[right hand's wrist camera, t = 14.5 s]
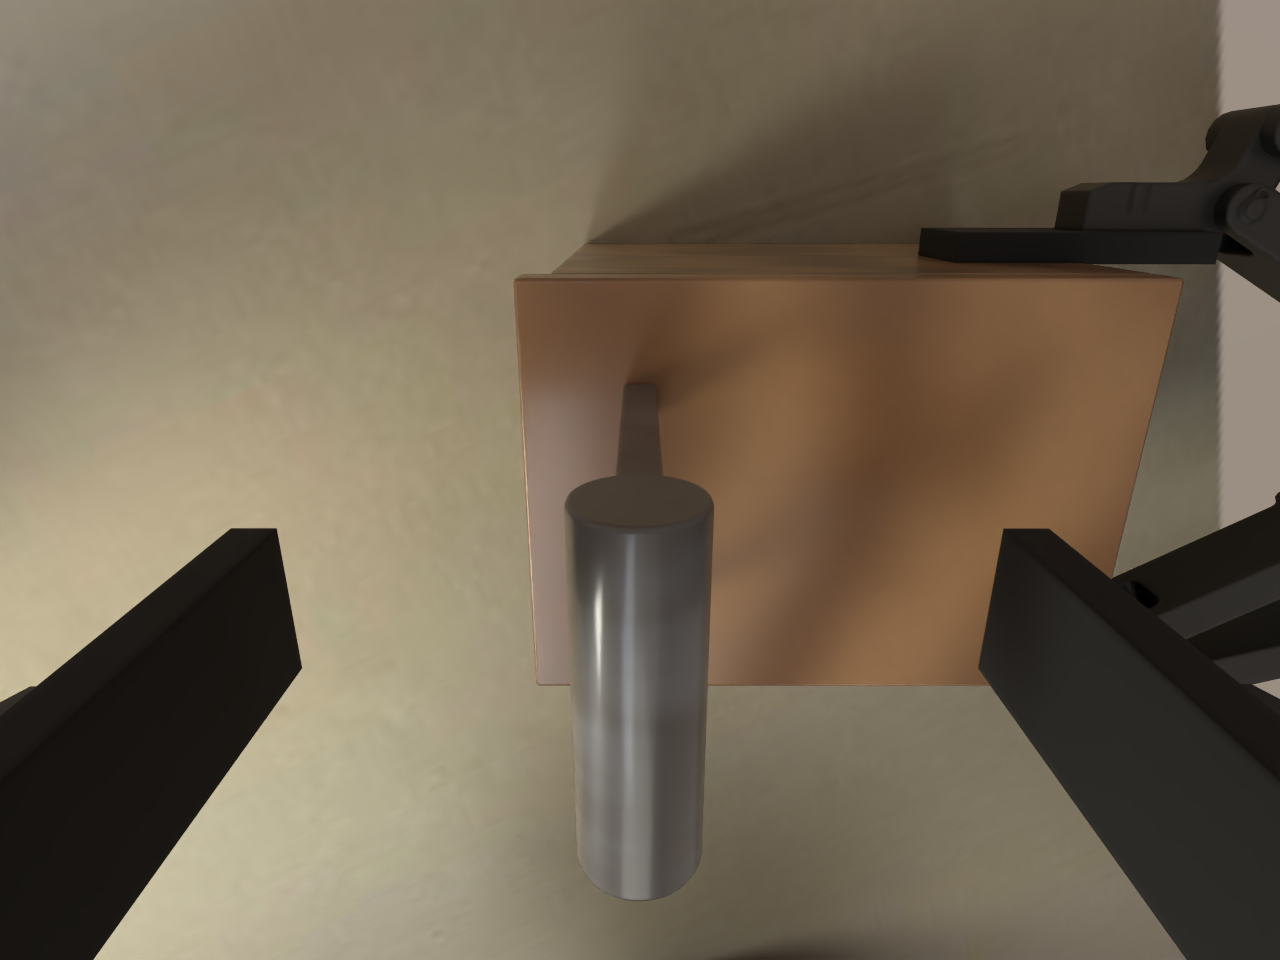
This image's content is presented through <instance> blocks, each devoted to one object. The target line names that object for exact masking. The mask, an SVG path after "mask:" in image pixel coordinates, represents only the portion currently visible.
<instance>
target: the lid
mask: <svg viewBox="0 0 1280 960" xmlns="http://www.w3.org/2000/svg"><path fill="white" fill-rule="evenodd" d="M1182 287H1183V280H1182V279H1180V278H1176V277H1169V276H1163V275H1156V274H523V275H520V276H519V277H517V278H516V279H515V280H514V297H515V315H516V333H517V350H518V368H519V386H520V404H521V421H522V439H523V457H524V475H525V492H526V510H527V528H528V546H529V563H530V581H531V599H532V617H533V634H534V652H535V670H536V683H537V685H571V708H572V735H573V761H574V788H575V814H576V841H577V856H578V861H579V864H580V866H581V868H582V870H583V872H584V873H585V875H586V876H587V878H588V879H589V880H590V881H591V882H592V883H593V884H594V885H595V886H596V887H597V888H599V889H600V890H602V891H603V892H605V893H607V894H609V895H611V896H614V897H617V898H620V899H624V900H630V901H648V900H654V899H658V898H662V897H665V896H667V895H669V894H672V893H673V892H675V891H677V890H678V889H680V888H681V887H682V886H684V885H685V884H686V883H687V882H688V881H689V880H690V878H691V877H692V875H693V874H694V873H695V871H696V869H697V867H698V865H699V862H700V859H701V853H702V827H703V800H704V773H705V746H706V719H707V692H708V685H864V686H990V684H989V683H988V681H987V680H986V679H985V677H984V676H983V675H982V673H981V672H980V670H979V669H978V665H979V659H980V654H981V648H982V643H983V637H984V632H985V626H986V621H987V615H988V610H989V605H990V599H991V594H992V588H993V583H994V577H995V572H996V566H997V561H998V555H999V550H1000V544H1001V539H1002V533H1003V528H1049V529H1050V530H1051V531H1053V532H1054V533H1055V534H1056V535H1058V536H1059V537H1060V538H1061V539H1063V540H1064V541H1065V542H1066V543H1067V544H1069V545H1070V546H1071V547H1072V548H1074V549H1075V550H1076V551H1077V552H1079V553H1080V554H1081V555H1082V556H1083V557H1085V558H1086V559H1087V560H1088V561H1090V562H1091V563H1092V564H1093V565H1095V566H1096V567H1097V568H1098V569H1099V570H1101V571H1102V572H1103V573H1104V574H1106V575H1107V576H1108V577H1109V578H1111V579H1112V575H1113V571H1114V567H1115V563H1116V559H1117V555H1118V551H1119V546H1120V542H1121V538H1122V534H1123V530H1124V526H1125V522H1126V518H1127V513H1128V509H1129V505H1130V501H1131V497H1132V493H1133V489H1134V485H1135V481H1136V476H1137V472H1138V468H1139V464H1140V460H1141V456H1142V452H1143V448H1144V443H1145V439H1146V435H1147V431H1148V427H1149V423H1150V419H1151V415H1152V410H1153V406H1154V402H1155V398H1156V394H1157V390H1158V386H1159V382H1160V378H1161V373H1162V369H1163V365H1164V361H1165V357H1166V353H1167V349H1168V345H1169V340H1170V336H1171V332H1172V328H1173V324H1174V320H1175V316H1176V312H1177V307H1178V303H1179V299H1180V295H1181V291H1182Z"/></svg>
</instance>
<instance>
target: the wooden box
mask: <svg viewBox="0 0 1280 960" xmlns="http://www.w3.org/2000/svg"><path fill="white" fill-rule="evenodd" d="M918 251H919V244H584V245H583V246H582V247H581V248H580V249H579V250H578V251H577V252H575V253H574V254H573V255H572V256H571V257H570V258H568V259H567V260H566V261H565V262H564V263H563V264H562V265H560V266H559V267H558V268H557V269H556V270H555V271H553V272H552V273H551V274H1149V273H1144V272H1137V271H1131V270H1124V269H1117V268H1111V267H1104V266H1098V265H1091V264H1084V263H953V262H948V261H943V260H939V259H934V258H929V257H925V256H920V255H918Z"/></svg>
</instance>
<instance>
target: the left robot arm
mask: <svg viewBox="0 0 1280 960" xmlns="http://www.w3.org/2000/svg"><path fill="white" fill-rule="evenodd" d="M1206 149H1207V151H1208V153H1207V154H1206V156H1205V158H1204V160H1203V161H1202V163H1201V164H1200V166H1199V167H1198V168H1197V170H1196V171H1195V172H1194V173H1192V174H1191V175H1190V176H1189V177H1187V178H1186V179H1184V180H1182V181H1179V182H1176V183H1145V182H1137V183H1134V182H1110V183H1081V184H1079V185H1076V186H1073V187H1071V188H1068V189H1066V190H1063V191H1061V195H1060V201H1059V206H1058V212H1057V217H1056V223H1055V228H921V235H920V243H919V251H918V255H920V256H925V257H929V258H934V259H939V260H943V261H948V262H953V263H1084V264H1215V263H1216V259H1218V260H1219V261H1220V262H1222V263H1223V264H1225V265H1226V266H1228V267H1229V268H1231V269H1232V270H1234V271H1235V272H1236V273H1238V274H1239V275H1241V276H1242V277H1244V278H1245V279H1247V280H1248V281H1250V282H1251V283H1252V284H1254V285H1255V286H1257V287H1258V288H1260V289H1261V290H1263V291H1264V292H1265V293H1267V294H1268V295H1270V296H1271V297H1273V298H1274V299H1276V300H1277V301H1279V302H1280V193H1279V192H1278V191H1277V190H1275V189H1276V187H1277V185H1278V184H1279V182H1280V104H1279V105H1272V106H1265V107H1258V108H1251V109H1244V110H1237V111H1231V112H1228V113H1225V114H1222V115H1221V116H1220V117H1219V118H1217V119H1216V120H1215V121H1214V122H1213V123H1212V125H1211V126H1210V128H1209V129H1208V132H1207V135H1206ZM1275 499H1276V503H1275V505H1273V506H1272V507H1270V508H1267V509H1265V510H1263V511H1261V512H1258V513H1256V514H1254V515H1252V516H1249V517H1247V518H1245V519H1243V520H1241V521H1238V522H1236V523H1234V524H1232V525H1229V526H1227V527H1225V528H1223V529H1220V530H1218V531H1216V532H1214V533H1212V534H1209V535H1207V536H1205V537H1203V538H1200V539H1198V540H1196V541H1194V542H1192V543H1189V544H1187V545H1185V546H1183V547H1180V548H1178V549H1176V550H1174V551H1171V552H1169V553H1167V554H1165V555H1163V556H1160V557H1158V558H1156V559H1154V560H1151V561H1149V562H1147V563H1145V564H1143V565H1140V566H1138V567H1136V568H1134V569H1131V570H1129V571H1127V572H1125V573H1122V574H1120V575H1118V576H1116V577H1114V578H1112V580H1113V581H1114V582H1115V583H1117V584H1118V585H1119V586H1120V587H1122V588H1123V589H1124V590H1125V591H1127V592H1128V593H1129V594H1130V595H1131V596H1133V597H1134V598H1135V599H1136V600H1138V601H1139V602H1140V603H1141V604H1143V605H1144V606H1145V607H1146V608H1148V609H1149V610H1150V611H1151V612H1152V613H1154V614H1155V615H1156V616H1157V617H1159V618H1160V619H1161V620H1162V621H1164V622H1165V623H1166V624H1167V625H1168V626H1170V627H1171V628H1172V629H1173V630H1175V631H1176V632H1177V633H1178V634H1180V635H1181V636H1182V637H1183V638H1184V639H1186V640H1187V641H1188V642H1189V643H1191V644H1192V645H1193V646H1194V647H1196V648H1197V649H1198V650H1199V651H1200V652H1202V653H1203V654H1204V655H1205V656H1207V657H1208V658H1209V659H1210V660H1212V661H1213V662H1214V663H1215V664H1216V665H1218V666H1219V667H1220V668H1221V669H1223V670H1224V671H1225V672H1226V673H1228V674H1229V675H1230V676H1231V677H1232V678H1234V679H1235V680H1236V681H1237V682H1239V683H1240V684H1256V683H1261V682H1265V681H1270V680H1274V679H1279V678H1280V492H1279V493H1278V494H1277V495H1276V496H1275Z"/></svg>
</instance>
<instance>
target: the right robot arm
mask: <svg viewBox="0 0 1280 960" xmlns="http://www.w3.org/2000/svg"><path fill="white" fill-rule="evenodd" d="M301 669H302V665H301V660H300V654H299V649H298V643H297V638H296V632H295V627H294V621H293V616H292V610H291V605H290V599H289V594H288V588H287V583H286V577H285V572H284V566H283V561H282V555H281V550H280V544H279V539H278V533H277V528H231V529H230V530H228V531H227V532H226V533H225V534H224V535H222V536H221V537H220V538H219V539H217V540H216V541H215V542H214V543H212V544H211V545H210V546H209V547H208V548H206V549H205V550H204V551H203V552H201V553H200V554H199V555H198V556H196V557H195V558H194V559H193V560H192V561H190V562H189V563H188V564H187V565H185V566H184V567H183V568H182V569H180V570H179V571H178V572H177V573H176V574H174V575H173V576H172V577H171V578H169V579H168V580H167V581H166V582H164V583H163V584H162V585H161V586H160V587H158V588H157V589H156V590H155V591H153V592H152V593H151V594H150V595H148V596H147V597H146V598H145V599H144V600H142V601H141V602H140V603H139V604H137V605H136V606H135V607H134V608H132V609H131V610H130V611H129V612H128V613H126V614H125V615H124V616H123V617H121V618H120V619H119V620H118V621H116V622H115V623H114V624H113V625H112V626H110V627H109V628H108V629H107V630H105V631H104V632H103V633H102V634H100V635H99V636H98V637H97V638H96V639H94V640H93V641H92V642H91V643H89V644H88V645H87V646H86V647H84V648H83V649H82V650H81V651H80V652H78V653H77V654H76V655H75V656H73V657H72V658H71V659H70V660H68V661H67V662H66V663H65V664H64V665H62V666H61V667H60V668H59V669H57V670H56V671H55V672H54V673H52V674H51V675H50V676H49V677H48V678H46V679H45V680H44V681H43V682H41V683H40V684H39V685H38V686H36V687H28V688H27V689H25V690H23V691H21V692H19V693H17V694H15V695H13V696H11V697H9V698H8V699H6V700H4V701H2V702H0V960H93V959H94V958H95V957H96V955H97V954H98V952H99V951H100V950H101V948H102V947H103V945H104V944H105V943H106V941H107V940H108V938H109V937H110V936H111V934H112V933H113V931H114V930H115V929H116V927H117V926H118V924H119V923H120V922H121V920H122V919H123V917H124V916H125V915H126V913H127V912H128V910H129V909H130V908H131V906H132V905H133V903H134V902H135V901H136V899H137V898H138V897H139V895H140V894H141V892H142V891H143V890H144V888H145V887H146V885H147V884H148V883H149V881H150V880H151V878H152V877H153V876H154V874H155V873H156V871H157V870H158V869H159V867H160V866H161V864H162V863H163V862H164V860H165V859H166V857H167V856H168V855H169V853H170V852H171V850H172V849H173V848H174V846H175V845H176V843H177V842H178V841H179V839H180V838H181V836H182V835H183V834H184V832H185V831H186V829H187V828H188V827H189V825H190V824H191V822H192V821H193V820H194V818H195V817H196V816H197V814H198V813H199V811H200V810H201V809H202V807H203V806H204V804H205V803H206V802H207V800H208V799H209V797H210V796H211V795H212V793H213V792H214V790H215V789H216V788H217V786H218V785H219V783H220V782H221V781H222V779H223V778H224V776H225V775H226V774H227V772H228V771H229V769H230V768H231V767H232V765H233V764H234V762H235V761H236V760H237V758H238V757H239V755H240V754H241V753H242V751H243V750H244V748H245V747H246V746H247V744H248V743H249V742H250V740H251V739H252V737H253V736H254V735H255V733H256V732H257V730H258V729H259V728H260V726H261V725H262V723H263V722H264V721H265V719H266V718H267V716H268V715H269V714H270V712H271V711H272V709H273V708H274V707H275V705H276V704H277V702H278V701H279V700H280V698H281V697H282V695H283V694H284V693H285V691H286V690H287V688H288V687H289V686H290V684H291V683H292V681H293V680H294V679H295V677H296V676H297V674H298V673H299V672H300V670H301ZM978 669H979V670H980V672H981V673H982V675H983V676H984V677H985V679H986V680H987V681H988V683H989V684H990V686H991V687H992V688H993V690H994V691H995V693H996V694H997V695H998V697H999V698H1000V700H1001V701H1002V702H1003V704H1004V705H1005V707H1006V708H1007V709H1008V711H1009V712H1010V714H1011V715H1012V716H1013V718H1014V719H1015V721H1016V722H1017V723H1018V725H1019V726H1020V728H1021V729H1022V730H1023V732H1024V733H1025V735H1026V736H1027V737H1028V739H1029V740H1030V742H1031V743H1032V744H1033V746H1034V747H1035V749H1036V750H1037V751H1038V753H1039V754H1040V756H1041V757H1042V758H1043V760H1044V761H1045V762H1046V764H1047V765H1048V767H1049V768H1050V769H1051V771H1052V772H1053V774H1054V775H1055V776H1056V778H1057V779H1058V781H1059V782H1060V783H1061V785H1062V786H1063V788H1064V789H1065V790H1066V792H1067V793H1068V795H1069V796H1070V797H1071V799H1072V800H1073V802H1074V803H1075V804H1076V806H1077V807H1078V809H1079V810H1080V811H1081V813H1082V814H1083V816H1084V817H1085V818H1086V820H1087V821H1088V823H1089V824H1090V825H1091V827H1092V828H1093V830H1094V831H1095V832H1096V834H1097V835H1098V836H1099V838H1100V839H1101V841H1102V842H1103V843H1104V845H1105V846H1106V848H1107V849H1108V850H1109V852H1110V853H1111V855H1112V856H1113V857H1114V859H1115V860H1116V862H1117V863H1118V864H1119V866H1120V867H1121V869H1122V870H1123V871H1124V873H1125V874H1126V876H1127V877H1128V878H1129V880H1130V881H1131V883H1132V884H1133V885H1134V887H1135V888H1136V890H1137V891H1138V892H1139V894H1140V895H1141V897H1142V898H1143V899H1144V901H1145V902H1146V904H1147V905H1148V906H1149V908H1150V909H1151V910H1152V912H1153V913H1154V915H1155V916H1156V917H1157V919H1158V920H1159V922H1160V923H1161V924H1162V926H1163V927H1164V929H1165V930H1166V931H1167V933H1168V934H1169V936H1170V937H1171V938H1172V940H1173V941H1174V943H1175V944H1176V945H1177V947H1178V948H1179V950H1180V951H1181V952H1182V954H1183V955H1184V957H1185V958H1186V959H1187V960H1280V699H1279V698H1277V697H1275V696H1273V695H1271V694H1269V693H1267V692H1265V691H1263V690H1261V689H1259V688H1257V687H1256V686H1254V685H1252V684H1240V683H1239V682H1237V681H1236V680H1235V679H1234V678H1232V677H1231V676H1230V675H1229V674H1228V673H1226V672H1225V671H1224V670H1223V669H1221V668H1220V667H1219V666H1218V665H1216V664H1215V663H1214V662H1213V661H1212V660H1210V659H1209V658H1208V657H1207V656H1205V655H1204V654H1203V653H1202V652H1200V651H1199V650H1198V649H1197V648H1196V647H1194V646H1193V645H1192V644H1191V643H1189V642H1188V641H1187V640H1186V639H1184V638H1183V637H1182V636H1181V635H1180V634H1178V633H1177V632H1176V631H1175V630H1173V629H1172V628H1171V627H1170V626H1168V625H1167V624H1166V623H1165V622H1164V621H1162V620H1161V619H1160V618H1159V617H1157V616H1156V615H1155V614H1154V613H1152V612H1151V611H1150V610H1149V609H1148V608H1146V607H1145V606H1144V605H1143V604H1141V603H1140V602H1139V601H1138V600H1136V599H1135V598H1134V597H1133V596H1131V595H1130V594H1129V593H1128V592H1127V591H1125V590H1124V589H1123V588H1122V587H1120V586H1119V585H1118V584H1117V583H1115V582H1114V581H1113V580H1112V579H1111V578H1109V577H1108V576H1107V575H1106V574H1104V573H1103V572H1102V571H1101V570H1099V569H1098V568H1097V567H1096V566H1095V565H1093V564H1092V563H1091V562H1090V561H1088V560H1087V559H1086V558H1085V557H1083V556H1082V555H1081V554H1080V553H1079V552H1077V551H1076V550H1075V549H1074V548H1072V547H1071V546H1070V545H1069V544H1067V543H1066V542H1065V541H1064V540H1063V539H1061V538H1060V537H1059V536H1058V535H1056V534H1055V533H1054V532H1053V531H1051V530H1050V529H1049V528H1003V533H1002V539H1001V544H1000V550H999V555H998V561H997V566H996V572H995V577H994V583H993V588H992V594H991V599H990V605H989V610H988V615H987V621H986V626H985V632H984V637H983V643H982V648H981V654H980V659H979V665H978Z"/></svg>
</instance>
